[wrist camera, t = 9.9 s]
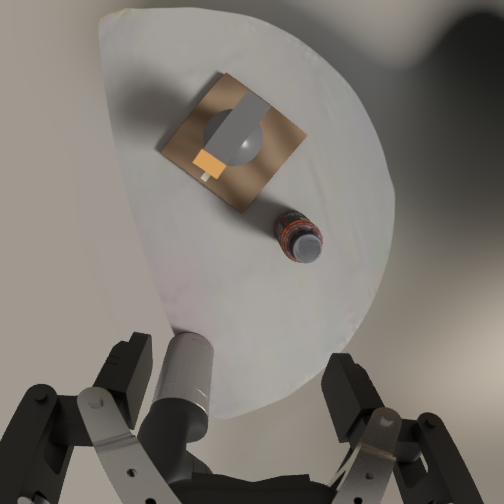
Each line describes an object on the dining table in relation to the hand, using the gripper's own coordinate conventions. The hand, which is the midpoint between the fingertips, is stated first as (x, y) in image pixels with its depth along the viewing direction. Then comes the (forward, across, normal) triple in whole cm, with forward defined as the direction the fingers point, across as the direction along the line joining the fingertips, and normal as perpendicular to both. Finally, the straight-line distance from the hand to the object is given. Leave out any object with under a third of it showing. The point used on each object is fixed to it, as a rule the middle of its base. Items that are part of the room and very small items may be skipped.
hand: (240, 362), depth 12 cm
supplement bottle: (+36, -9, +2) cm, 38 cm away
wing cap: (+27, +2, -10) cm, 29 cm away
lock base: (+36, +2, -10) cm, 38 cm away
